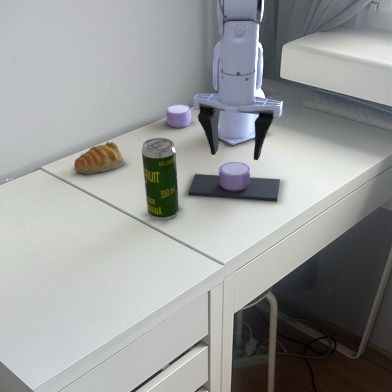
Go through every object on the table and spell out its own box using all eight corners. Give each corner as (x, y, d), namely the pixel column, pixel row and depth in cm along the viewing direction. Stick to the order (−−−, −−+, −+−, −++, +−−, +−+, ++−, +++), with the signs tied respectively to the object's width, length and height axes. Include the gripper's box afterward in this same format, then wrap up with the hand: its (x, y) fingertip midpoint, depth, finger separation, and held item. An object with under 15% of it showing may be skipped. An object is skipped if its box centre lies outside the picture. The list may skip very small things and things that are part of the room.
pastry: (85, 180, 96) (82, 161, 94) (69, 168, 100) (64, 149, 97) (127, 165, 100) (124, 146, 98) (109, 154, 104) (106, 136, 101)
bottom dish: (182, 117, 117) (181, 102, 115) (196, 124, 114) (195, 109, 112) (161, 123, 115) (160, 108, 113) (175, 130, 112) (174, 115, 109)
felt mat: (188, 195, 91) (187, 192, 91) (195, 176, 96) (195, 173, 96) (277, 201, 89) (277, 198, 88) (279, 182, 94) (280, 179, 93)
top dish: (229, 175, 95) (229, 159, 93) (255, 183, 93) (256, 166, 90) (213, 188, 92) (213, 171, 89) (239, 196, 89) (240, 178, 87)
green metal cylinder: (162, 202, 90) (157, 134, 81) (185, 211, 87) (182, 142, 79) (141, 214, 87) (133, 145, 78) (164, 225, 84) (158, 154, 76)
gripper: (185, 74, 77) (188, 159, 87) (278, 81, 74) (271, 170, 84) (200, 60, 82) (201, 143, 92) (288, 67, 79) (280, 152, 88)
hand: (235, 155), depth 88 cm, fingers open, 7 cm apart
